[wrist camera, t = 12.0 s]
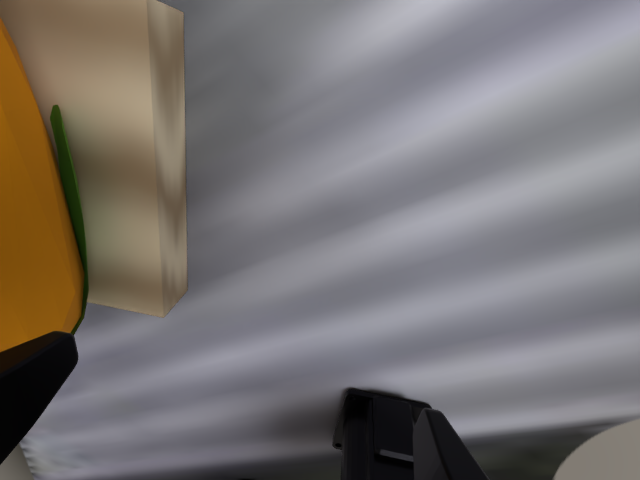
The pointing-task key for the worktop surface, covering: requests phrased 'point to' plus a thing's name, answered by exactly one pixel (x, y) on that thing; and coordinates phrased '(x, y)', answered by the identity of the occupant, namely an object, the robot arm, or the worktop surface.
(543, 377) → the worktop surface
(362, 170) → the worktop surface
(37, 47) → the birch base
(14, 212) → the corn
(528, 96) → the worktop surface
